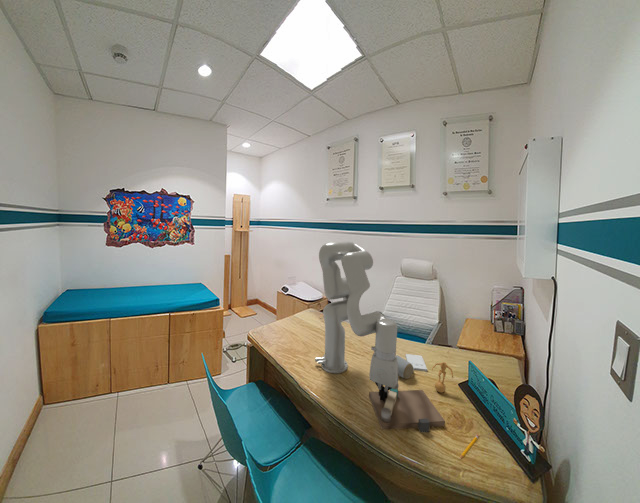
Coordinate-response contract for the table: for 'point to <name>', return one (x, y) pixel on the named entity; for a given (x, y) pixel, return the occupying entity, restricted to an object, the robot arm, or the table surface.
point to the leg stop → (423, 425)
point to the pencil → (469, 446)
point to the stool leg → (389, 405)
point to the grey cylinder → (404, 368)
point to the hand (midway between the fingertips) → (383, 398)
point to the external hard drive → (416, 362)
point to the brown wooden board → (407, 410)
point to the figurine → (440, 385)
